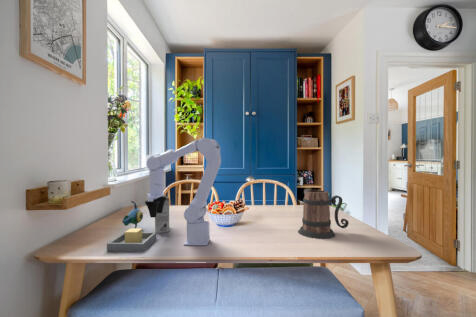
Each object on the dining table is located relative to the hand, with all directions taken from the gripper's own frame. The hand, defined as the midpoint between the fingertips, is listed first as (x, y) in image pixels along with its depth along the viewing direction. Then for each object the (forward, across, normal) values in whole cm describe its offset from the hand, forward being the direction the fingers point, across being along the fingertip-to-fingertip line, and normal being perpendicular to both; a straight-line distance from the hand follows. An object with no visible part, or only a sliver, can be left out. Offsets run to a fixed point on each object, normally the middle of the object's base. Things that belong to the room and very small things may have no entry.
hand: (156, 215), depth 105 cm
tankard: (+11, -10, +76) cm, 77 cm away
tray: (+10, +7, -7) cm, 14 cm away
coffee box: (+11, -13, -2) cm, 17 cm away
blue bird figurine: (+11, -10, -15) cm, 21 cm away
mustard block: (+10, +7, -7) cm, 14 cm away
